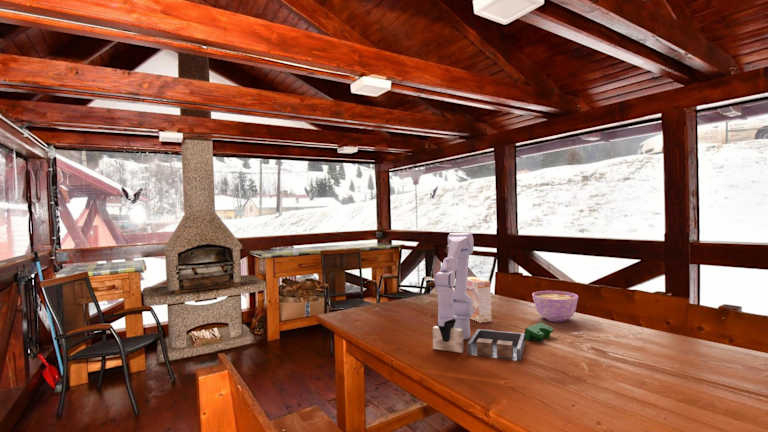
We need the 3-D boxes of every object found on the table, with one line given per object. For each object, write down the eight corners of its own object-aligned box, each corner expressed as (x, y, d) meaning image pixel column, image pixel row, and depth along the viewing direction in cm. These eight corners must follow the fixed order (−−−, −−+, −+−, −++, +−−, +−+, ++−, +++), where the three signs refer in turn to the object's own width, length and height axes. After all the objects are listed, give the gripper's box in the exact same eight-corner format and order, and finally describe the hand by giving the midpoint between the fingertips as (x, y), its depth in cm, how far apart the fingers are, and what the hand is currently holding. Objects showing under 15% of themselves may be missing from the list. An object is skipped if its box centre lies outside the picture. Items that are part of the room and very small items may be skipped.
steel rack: (467, 357, 135) (467, 343, 135) (478, 341, 151) (477, 329, 151) (520, 363, 127) (520, 349, 127) (525, 346, 143) (524, 333, 143)
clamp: (537, 355, 145) (536, 337, 142) (524, 347, 150) (522, 330, 146) (555, 337, 151) (554, 320, 147) (541, 330, 156) (540, 314, 152)
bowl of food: (523, 317, 182) (522, 293, 182) (553, 311, 190) (552, 289, 190) (558, 328, 163) (557, 301, 163) (589, 320, 172) (588, 295, 172)
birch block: (433, 348, 141) (432, 327, 141) (435, 346, 143) (434, 325, 143) (461, 352, 136) (461, 330, 136) (463, 350, 139) (462, 328, 139)
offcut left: (477, 354, 135) (476, 341, 135) (479, 350, 138) (478, 338, 138) (491, 355, 133) (490, 343, 133) (493, 351, 136) (492, 339, 136)
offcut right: (497, 356, 132) (496, 343, 132) (498, 352, 135) (498, 340, 135) (511, 358, 130) (511, 345, 130) (513, 354, 133) (512, 341, 133)
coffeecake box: (463, 315, 190) (461, 277, 190) (475, 314, 192) (473, 276, 192) (479, 323, 175) (477, 281, 176) (492, 321, 178) (490, 280, 178)
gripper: (451, 309, 132) (452, 347, 132) (461, 300, 145) (462, 335, 145) (431, 307, 135) (433, 345, 135) (443, 299, 148) (444, 333, 148)
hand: (447, 340), depth 140 cm, fingers closed on birch block, 2 cm apart
